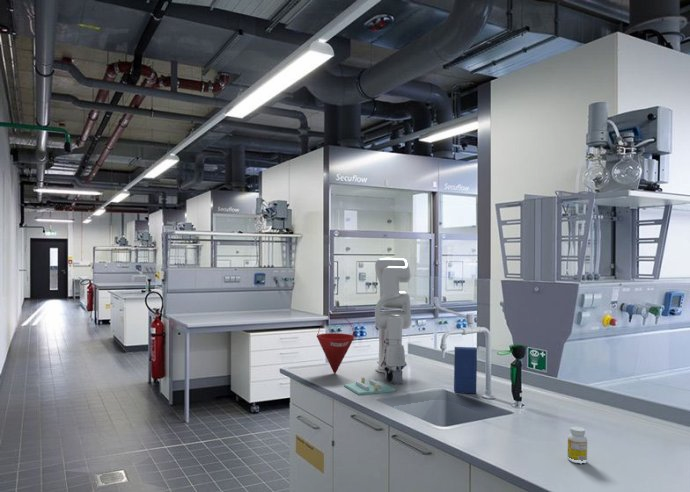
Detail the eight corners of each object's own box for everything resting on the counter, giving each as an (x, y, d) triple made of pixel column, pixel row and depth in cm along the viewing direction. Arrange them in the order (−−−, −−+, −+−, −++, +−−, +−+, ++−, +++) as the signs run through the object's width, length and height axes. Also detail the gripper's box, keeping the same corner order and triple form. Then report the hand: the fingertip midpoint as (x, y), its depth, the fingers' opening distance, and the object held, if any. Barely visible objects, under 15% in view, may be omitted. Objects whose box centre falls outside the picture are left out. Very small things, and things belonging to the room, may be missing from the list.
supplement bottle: (584, 466, 148) (584, 433, 149) (565, 461, 152) (565, 428, 152) (589, 460, 152) (589, 428, 153) (570, 456, 156) (570, 424, 156)
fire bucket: (323, 379, 246) (325, 317, 247) (307, 371, 264) (309, 313, 264) (362, 375, 256) (363, 316, 257) (344, 367, 274) (345, 312, 274)
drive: (384, 379, 249) (384, 367, 249) (391, 379, 251) (392, 366, 251) (394, 384, 240) (395, 371, 240) (402, 383, 242) (402, 370, 242)
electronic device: (474, 391, 231) (475, 347, 231) (476, 394, 225) (477, 349, 226) (453, 390, 231) (454, 346, 232) (454, 393, 226) (455, 348, 227)
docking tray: (344, 386, 235) (344, 378, 235) (378, 383, 242) (378, 375, 242) (359, 395, 220) (359, 386, 220) (395, 391, 228) (395, 383, 228)
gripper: (382, 344, 239) (381, 383, 238) (413, 342, 246) (412, 380, 245) (375, 341, 246) (374, 379, 245) (405, 340, 253) (404, 377, 252)
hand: (393, 379), depth 245 cm, fingers closed on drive, 4 cm apart
